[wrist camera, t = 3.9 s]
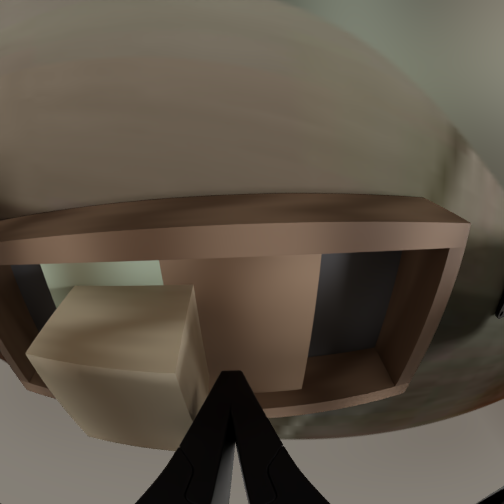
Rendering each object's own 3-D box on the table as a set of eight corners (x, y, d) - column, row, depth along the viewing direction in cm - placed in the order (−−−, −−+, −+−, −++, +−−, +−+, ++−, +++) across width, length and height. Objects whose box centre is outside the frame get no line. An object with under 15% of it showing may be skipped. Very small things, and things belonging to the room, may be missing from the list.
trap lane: (423, 197, 11) (471, 223, 8) (382, 352, 15) (403, 392, 12) (-8, 222, 10) (-47, 247, 7) (46, 355, 14) (26, 389, 11)
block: (193, 284, 9) (175, 373, 6) (209, 376, 12) (205, 452, 8) (74, 285, 9) (25, 353, 6) (111, 370, 11) (88, 436, 8)
